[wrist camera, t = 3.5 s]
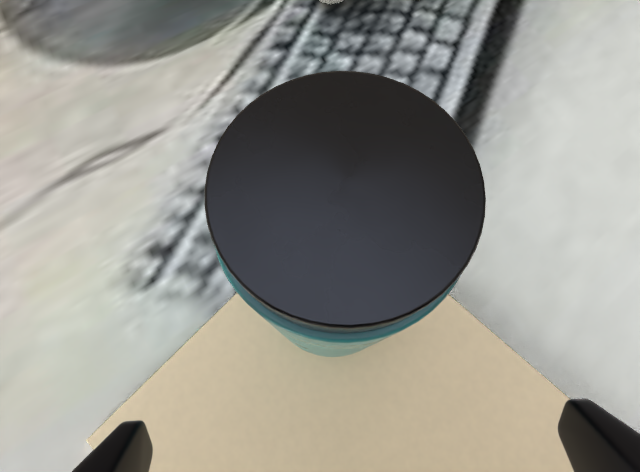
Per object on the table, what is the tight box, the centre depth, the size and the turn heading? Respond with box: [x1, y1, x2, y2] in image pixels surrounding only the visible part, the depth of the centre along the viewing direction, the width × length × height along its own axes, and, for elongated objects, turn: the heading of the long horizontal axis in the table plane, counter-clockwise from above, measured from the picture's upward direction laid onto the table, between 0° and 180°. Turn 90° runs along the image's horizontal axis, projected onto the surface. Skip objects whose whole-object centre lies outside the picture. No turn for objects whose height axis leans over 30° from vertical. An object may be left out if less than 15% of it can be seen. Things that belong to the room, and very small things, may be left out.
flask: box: [205, 71, 486, 357], centre depth 15 cm, size 7×7×12 cm
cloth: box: [86, 293, 574, 472], centre depth 18 cm, size 21×17×1 cm
